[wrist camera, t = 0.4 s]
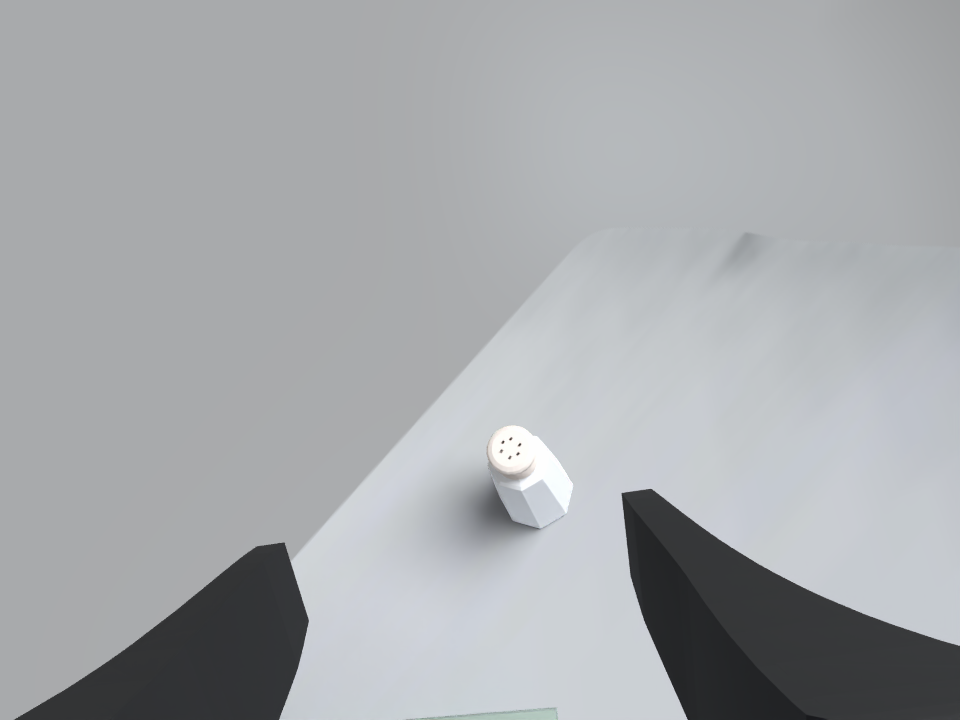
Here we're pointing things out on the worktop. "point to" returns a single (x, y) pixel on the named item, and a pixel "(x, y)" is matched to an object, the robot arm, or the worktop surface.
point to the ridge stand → (505, 715)
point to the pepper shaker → (528, 477)
